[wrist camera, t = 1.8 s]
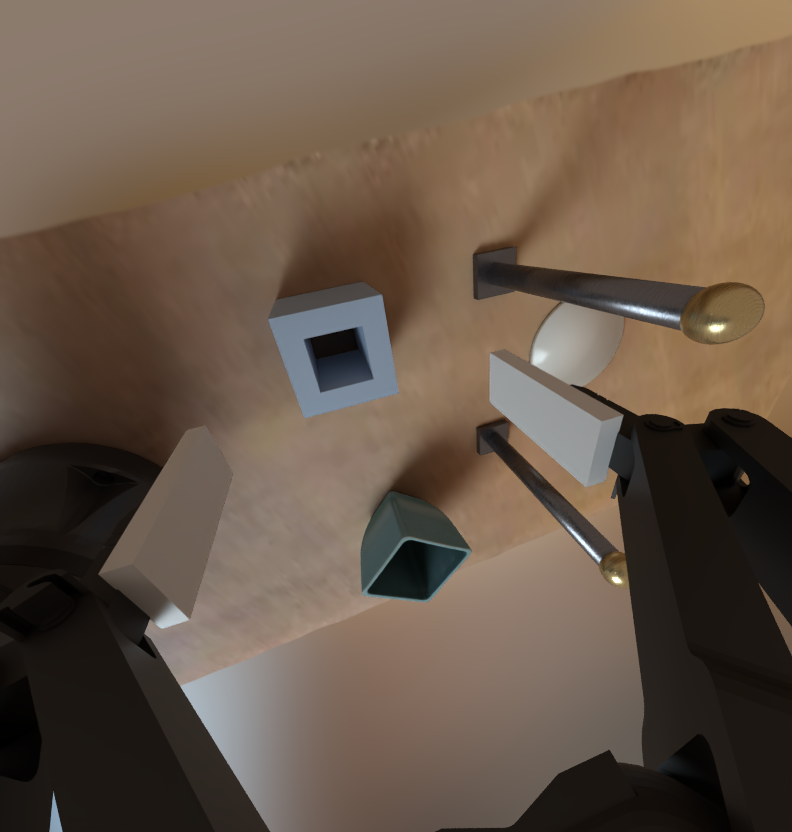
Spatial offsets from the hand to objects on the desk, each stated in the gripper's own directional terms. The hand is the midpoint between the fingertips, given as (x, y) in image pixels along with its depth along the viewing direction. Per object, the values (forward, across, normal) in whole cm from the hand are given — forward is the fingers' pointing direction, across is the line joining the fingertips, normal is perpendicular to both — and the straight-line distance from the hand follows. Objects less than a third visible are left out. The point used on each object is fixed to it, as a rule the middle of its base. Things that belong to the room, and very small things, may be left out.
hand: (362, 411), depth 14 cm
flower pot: (+15, +2, -23) cm, 27 cm away
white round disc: (+15, +25, -7) cm, 29 cm away
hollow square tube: (+14, 0, 0) cm, 14 cm away
